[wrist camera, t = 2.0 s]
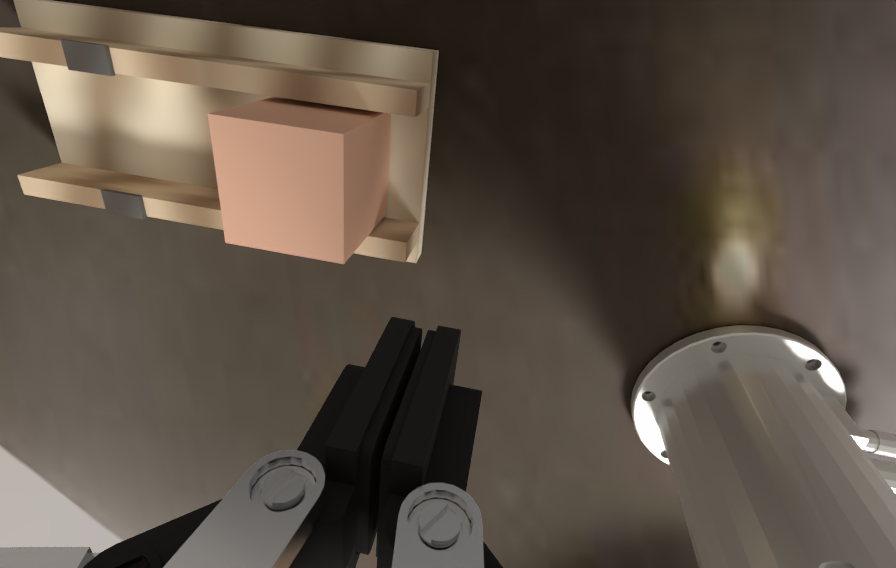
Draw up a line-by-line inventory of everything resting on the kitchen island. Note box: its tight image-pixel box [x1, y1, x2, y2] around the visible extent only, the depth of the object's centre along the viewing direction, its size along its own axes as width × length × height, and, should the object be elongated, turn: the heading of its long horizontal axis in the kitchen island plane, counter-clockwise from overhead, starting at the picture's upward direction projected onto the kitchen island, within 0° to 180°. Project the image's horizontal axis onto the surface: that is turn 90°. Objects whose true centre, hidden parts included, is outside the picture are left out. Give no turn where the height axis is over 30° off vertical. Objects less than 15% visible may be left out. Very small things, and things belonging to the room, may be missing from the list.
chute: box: [0, 0, 439, 263], centre depth 27 cm, size 24×12×5 cm, turn 84°
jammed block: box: [208, 97, 391, 264], centre depth 24 cm, size 6×6×7 cm
